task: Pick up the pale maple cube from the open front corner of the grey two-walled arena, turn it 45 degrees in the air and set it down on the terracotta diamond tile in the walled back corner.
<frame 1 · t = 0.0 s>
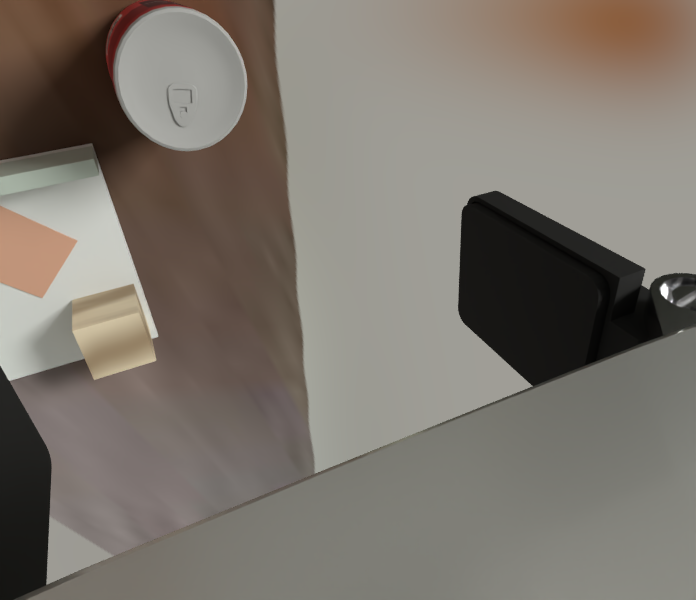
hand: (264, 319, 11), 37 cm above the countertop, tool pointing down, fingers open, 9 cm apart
canned food: (160, 58, 40), on the countertop
arena: (36, 270, 44), on the countertop
cube: (112, 315, 48), point 1 cm above the countertop, touching arena
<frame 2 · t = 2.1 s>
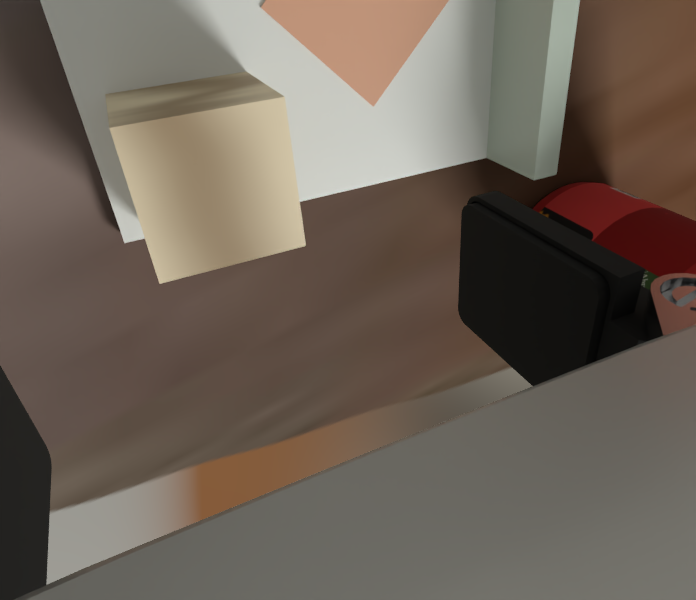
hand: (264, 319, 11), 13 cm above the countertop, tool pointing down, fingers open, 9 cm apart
canned food: (559, 239, 32), on the countertop
arena: (309, 6, 21), on the countertop
cube: (194, 151, 21), point 1 cm above the countertop, touching arena
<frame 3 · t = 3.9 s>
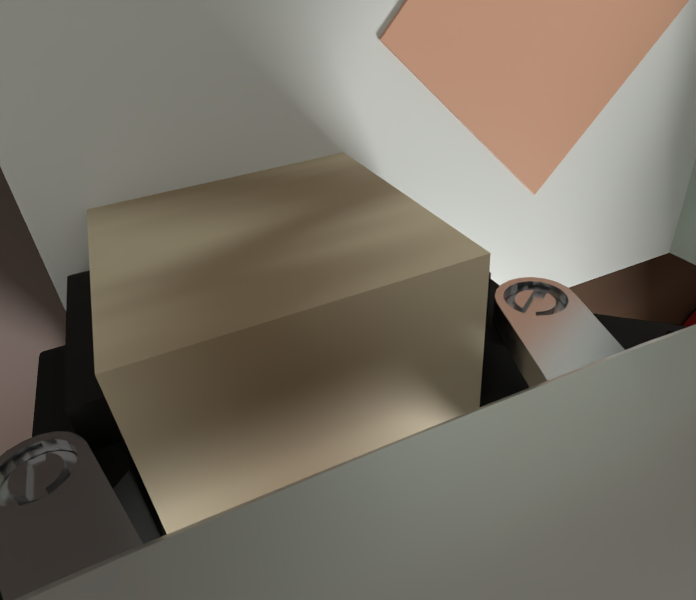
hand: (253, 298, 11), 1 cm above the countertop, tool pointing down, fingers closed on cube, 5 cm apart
arena: (450, 34, 12), on the countertop
cube: (248, 288, 12), point 1 cm above the countertop, touching arena, gripper
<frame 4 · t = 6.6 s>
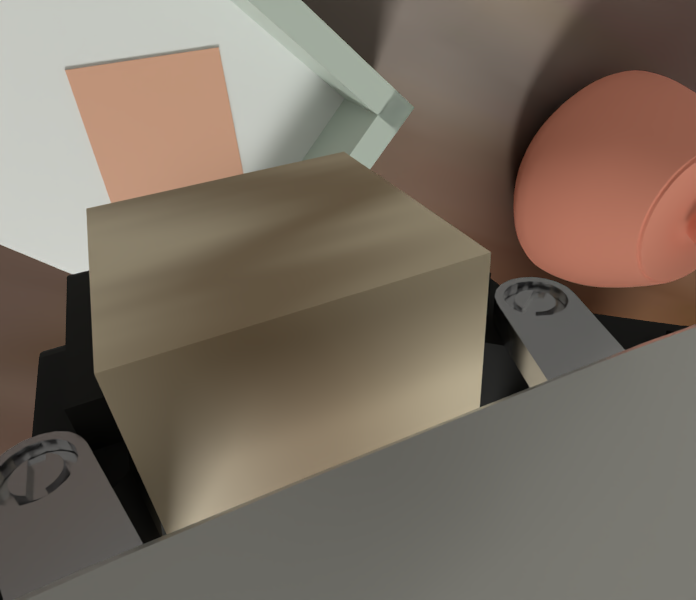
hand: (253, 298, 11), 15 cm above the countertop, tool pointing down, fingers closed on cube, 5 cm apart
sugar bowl: (580, 160, 34), on the countertop
arena: (114, 105, 22), on the countertop
cube: (248, 288, 12), point 15 cm above the countertop, touching gripper
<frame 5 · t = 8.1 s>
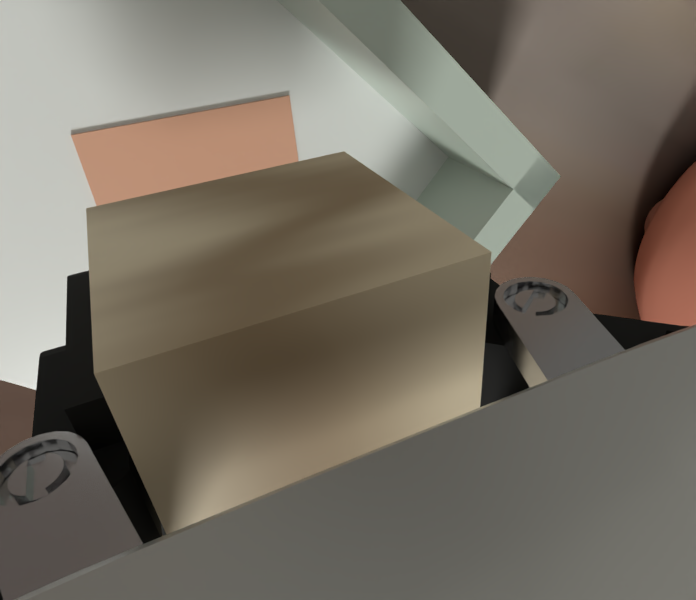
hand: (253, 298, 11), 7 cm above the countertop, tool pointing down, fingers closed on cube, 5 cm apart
arena: (140, 177, 16), on the countertop
cube: (248, 288, 12), point 6 cm above the countertop, touching gripper
when the fingers open (3 cm above the countertop, at t = 9.3 s): cube drops 1 cm, resting on arena.
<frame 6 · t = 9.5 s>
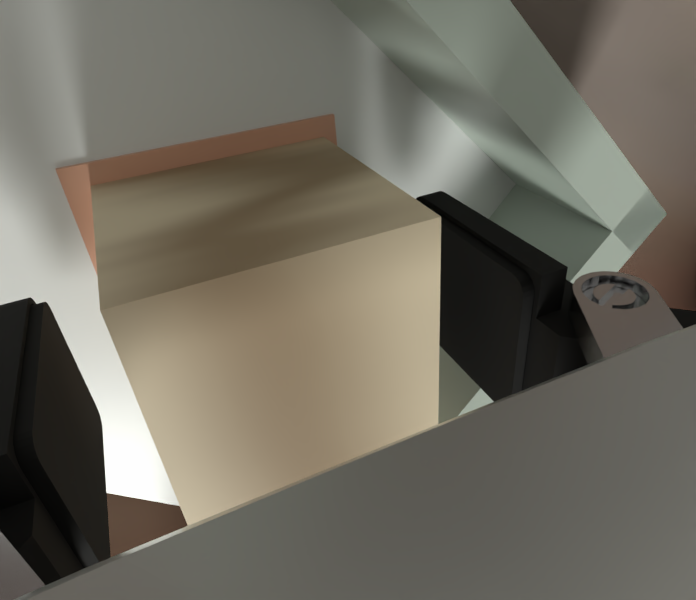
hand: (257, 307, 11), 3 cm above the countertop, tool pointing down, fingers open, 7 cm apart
arena: (145, 216, 12), on the countertop
cube: (237, 262, 13), point 1 cm above the countertop, touching arena
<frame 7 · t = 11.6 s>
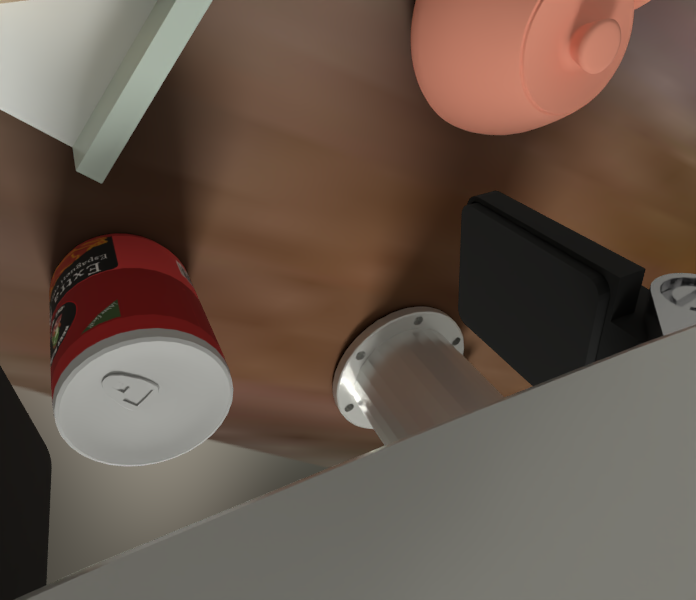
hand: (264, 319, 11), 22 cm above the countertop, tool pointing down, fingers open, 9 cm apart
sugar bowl: (485, 12, 34), on the countertop
canned food: (122, 285, 33), on the countertop
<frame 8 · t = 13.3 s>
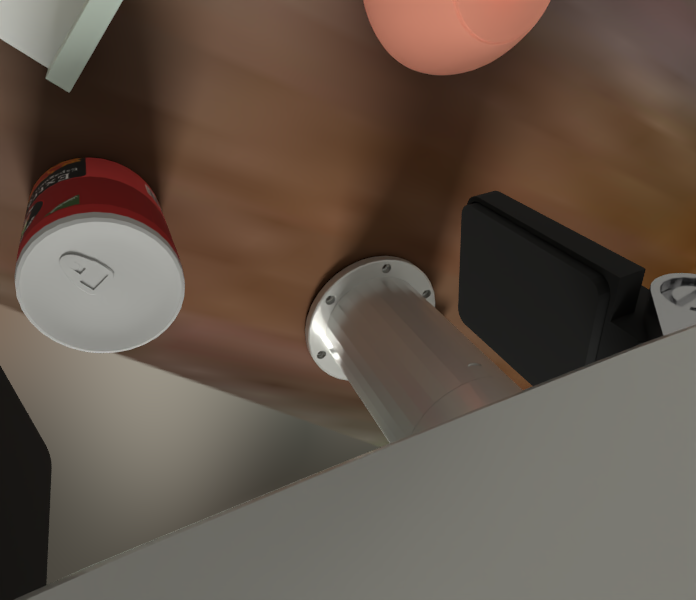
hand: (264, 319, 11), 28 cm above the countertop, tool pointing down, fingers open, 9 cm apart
canned food: (97, 211, 36), on the countertop
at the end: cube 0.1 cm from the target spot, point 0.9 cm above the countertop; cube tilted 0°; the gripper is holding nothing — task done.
